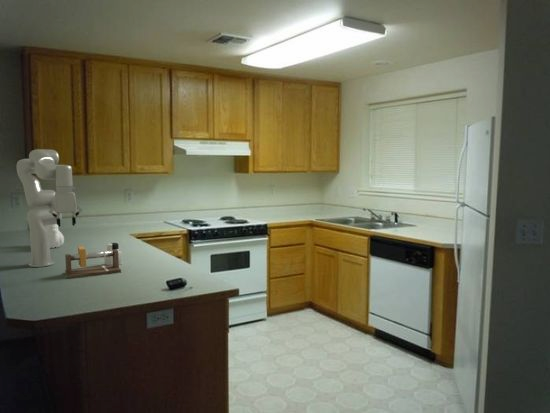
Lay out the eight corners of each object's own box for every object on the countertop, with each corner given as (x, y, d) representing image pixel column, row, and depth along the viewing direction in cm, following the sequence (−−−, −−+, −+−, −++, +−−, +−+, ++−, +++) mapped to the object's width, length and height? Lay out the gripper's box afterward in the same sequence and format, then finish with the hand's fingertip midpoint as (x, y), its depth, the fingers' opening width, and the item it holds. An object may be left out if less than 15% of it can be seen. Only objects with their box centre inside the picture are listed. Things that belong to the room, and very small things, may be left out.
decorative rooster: (40, 245, 317) (38, 210, 315) (65, 244, 323) (63, 209, 321) (35, 252, 294) (33, 213, 292) (62, 250, 300) (60, 212, 297)
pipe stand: (65, 272, 239) (64, 252, 238) (115, 266, 252) (114, 247, 251) (68, 278, 226) (67, 257, 225) (120, 272, 239) (120, 252, 238)
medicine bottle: (116, 262, 263) (115, 241, 262) (122, 264, 258) (121, 243, 257) (104, 264, 258) (103, 243, 257) (110, 266, 253) (109, 244, 252)
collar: (78, 263, 239) (77, 246, 238) (83, 263, 240) (82, 246, 240) (81, 267, 231) (80, 249, 231) (86, 266, 233) (85, 249, 232)
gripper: (82, 189, 236) (83, 223, 238) (44, 190, 228) (46, 226, 230) (84, 189, 230) (85, 225, 232) (46, 191, 221) (48, 228, 223)
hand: (66, 225), depth 231 cm, fingers open, 5 cm apart
